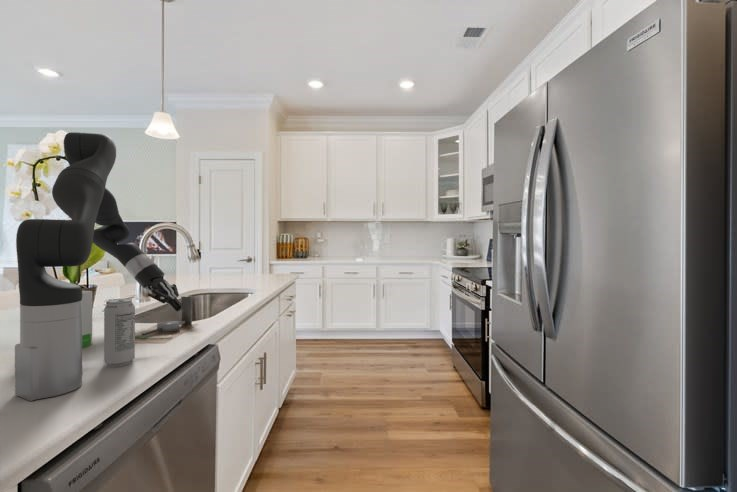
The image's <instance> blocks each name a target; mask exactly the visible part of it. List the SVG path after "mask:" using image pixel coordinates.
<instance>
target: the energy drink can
mask: <svg viewBox="0 0 737 492" xmlns="http://www.w3.org/2000/svg"><path fill="white" fill-rule="evenodd" d="M105 305H106V306H105V307H104V308H103V311H104V312H103V315H104V316H103V318H104V319H103V324H104V325H103V326H104V327H103V328H104V329H103V332H104V333H103V334H104V335H103V339H104V340H103V341H104V342H103V362H104V364H106V366H107V367H110V368H117V367H124V366H128V365H130V364H131V363H133V360H134V359H135V357H136V356H135V355H136V354H135V352H136V351H135V350H136V343H135V334H136V306H135V305H134V303H133V299H131V298H115V299H110V300H109V299H108V300H107V303H106V304H105Z"/></svg>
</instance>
